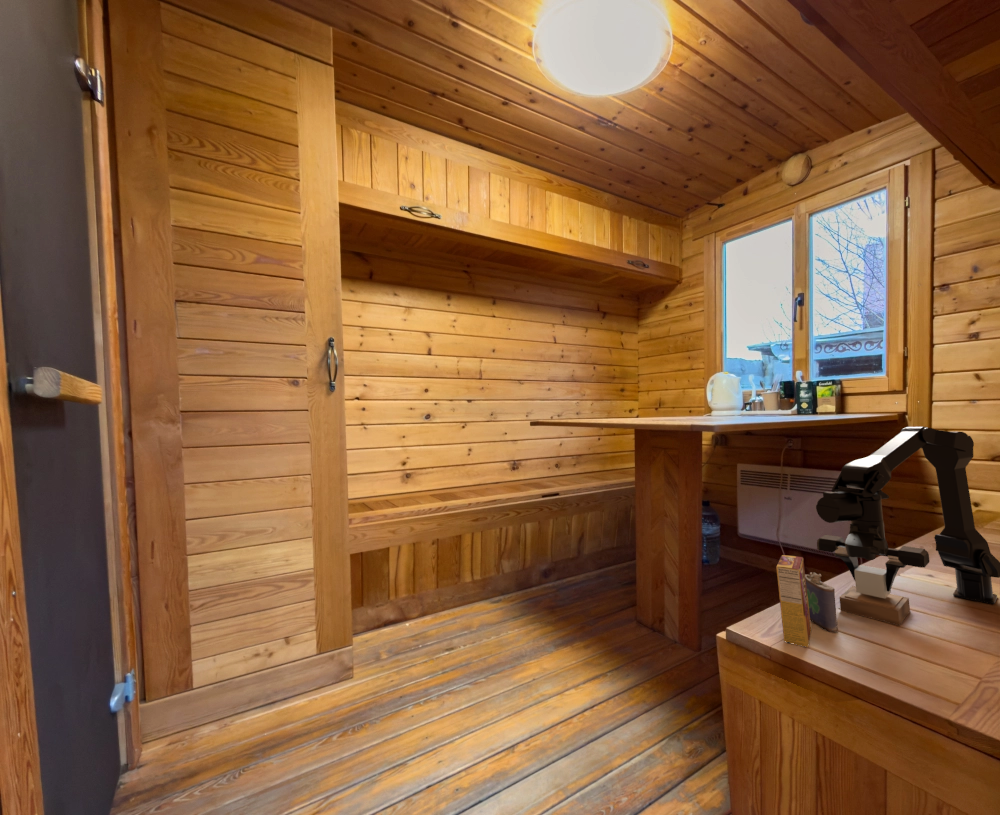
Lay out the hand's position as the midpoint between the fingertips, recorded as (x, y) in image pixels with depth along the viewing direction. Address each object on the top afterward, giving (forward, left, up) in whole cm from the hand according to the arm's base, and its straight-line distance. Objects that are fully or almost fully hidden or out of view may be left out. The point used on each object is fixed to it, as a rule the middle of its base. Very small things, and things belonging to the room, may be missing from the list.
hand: (873, 587), depth 96 cm
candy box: (+25, -7, -5) cm, 27 cm away
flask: (+15, -6, -5) cm, 17 cm away
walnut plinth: (0, 0, -5) cm, 5 cm away
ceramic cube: (0, 0, -1) cm, 1 cm away
